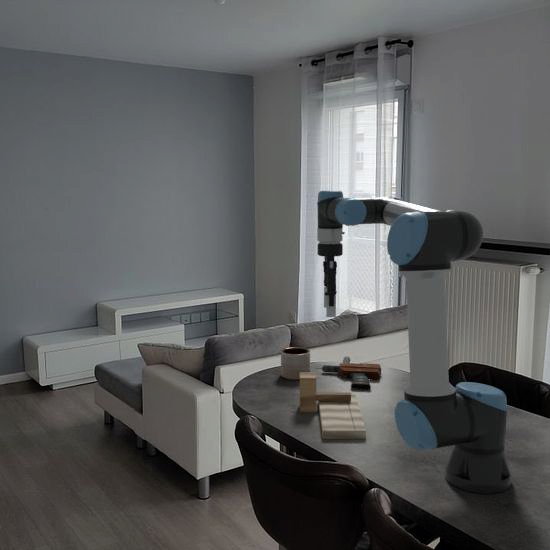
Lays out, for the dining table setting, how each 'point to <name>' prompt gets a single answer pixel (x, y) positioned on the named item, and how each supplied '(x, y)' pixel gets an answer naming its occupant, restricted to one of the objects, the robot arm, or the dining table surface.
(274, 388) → the dining table surface
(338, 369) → the tool
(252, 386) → the dining table surface
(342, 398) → the brown block with tab
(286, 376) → the planter
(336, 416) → the board
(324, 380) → the dining table surface
